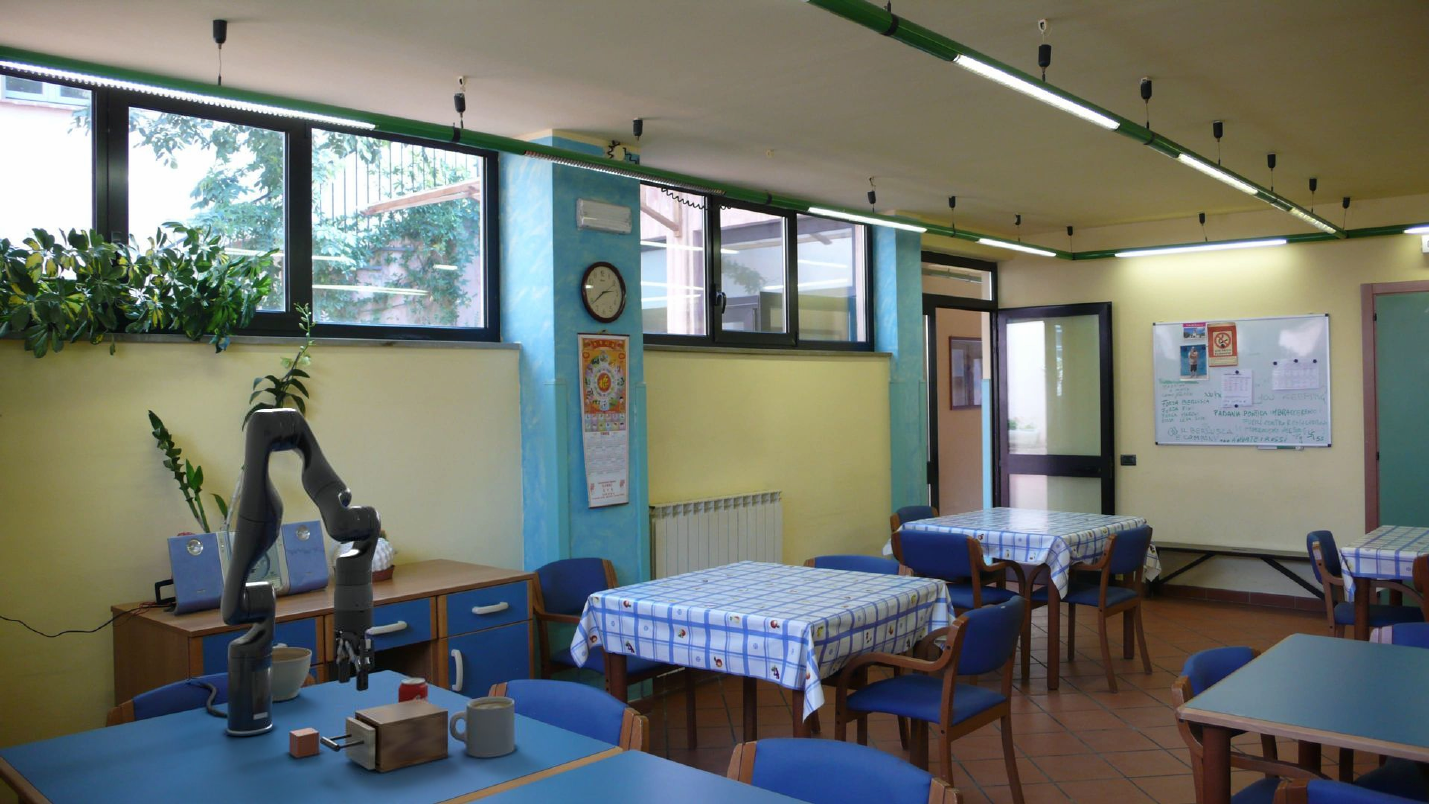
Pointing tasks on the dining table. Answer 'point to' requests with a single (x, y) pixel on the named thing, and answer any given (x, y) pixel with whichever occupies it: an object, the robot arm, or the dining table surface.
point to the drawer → (358, 742)
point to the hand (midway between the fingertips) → (353, 686)
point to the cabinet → (409, 733)
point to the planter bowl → (289, 671)
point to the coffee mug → (486, 726)
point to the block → (304, 742)
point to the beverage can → (413, 690)
